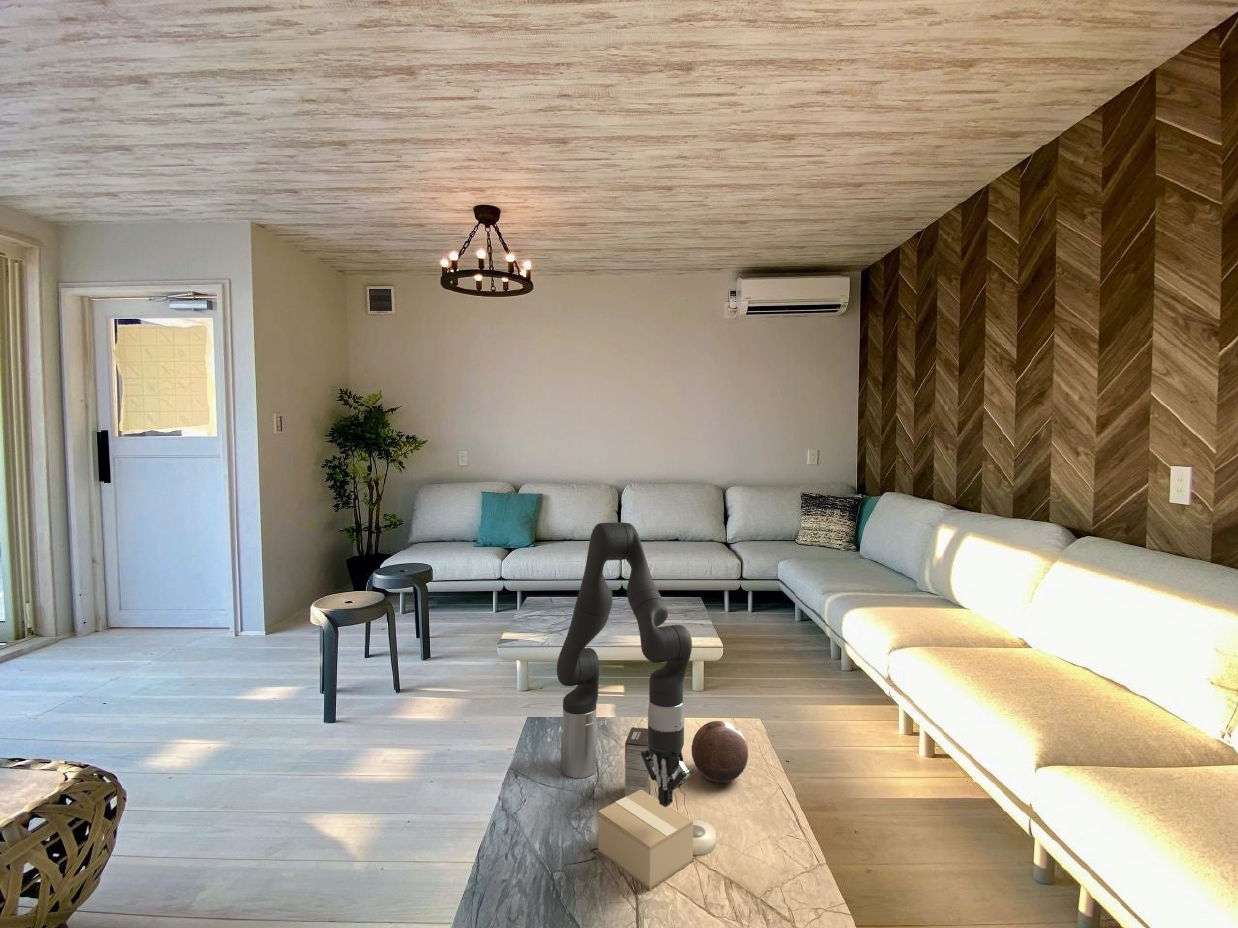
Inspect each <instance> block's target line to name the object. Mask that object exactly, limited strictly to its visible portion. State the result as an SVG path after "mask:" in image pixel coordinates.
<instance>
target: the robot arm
mask: <svg viewBox="0 0 1238 928" xmlns="http://www.w3.org/2000/svg"><path fill="white" fill-rule="evenodd" d="M587 549H588V550H587V556H586V561H585V562H586V563H585V568H584V571H583V572H584V573H583V576H582V581H581V584H580V588H579V592H578V595H577V598H576V601H575V605H574V609H573V614H572V617H571V621H570V625H569V628H568V631H567V635H566V637H565V640H564V642H563V644H562V646H561V649H560V652H559V655H558V658H557V663H556V664H557V665H556V675H557V680H558V681H559V683H560V685H562V686H564V687H574V686H576V687H575V688H574V689H573V690H571V691H569V693H567V694H566V695H565V696H564V697H563V700H562V731H561V733H560V768H561V769H562V772H563V774H564V775H566V776H567V777H570V778H574V779H575V778H576V779H583V778H588V777H590V776H592V775H593V774H595V772H596V771H597V701H598V699H599V698H598V697H599V687H600V686H599V682H600V660H599V657H598V654H597V652H596V650H595V649H594V648H592V647H587V646H588V645H589V644H590V643H591V642H592V641H593V639H595V637H597V636H598V635H599V634H600V633H601V632H602V630H603V629H604V628H605V627H606V624H607V622H608V620H609V617H610V614H611V610H612V606H613V603H614V601H613V595H612V592H611V590H610V588H609V585H608V582H606V579H605V577H604V566H605V564H606V562H607V561H625V560H626V562H627V563H628V564H629V566H630V574H629V579H628V582H627V586H626V597H627V601H628V604H629V606H630V608H631V610H632V612H633V614H634V616H635V617H634V618H635V619H636V621H637V627H638V631H639V638H640V647H641V648H640V649H641V653H642V654H643V657H645V658H646V660H647V661H649V662H650V663H654V664H659V663H663V662H666V663H665V665H664V666H662V667H660V668H659V669H657V670H654V671H653V672H652V673H651V675H650V676H649V687H648V688H649V689H648V691H649V694H648V695H649V698H648V700H649V701H648V708H647V729H648V744H649V749H647V750H645V751H643V752H641V756H642V758H643V761H644V763H645V765H646V768H647V770H648V772H649V775H650V777H651V779H652V780H653V781H654V780H655V783H656V785H657V792H658V793H657V795H658V797H657V799H658V800H659V804H660V805H662V806H664V807H667V806H669V807H670V806H671V804H672V803H673V801H674V799H673V797H674V794H673V791H674V790H676V789H678V788H680V787H681V786H683V785H684V783H685V782H686V780H687V779H688V778H689V777H691V775H692V774H693V772H692V769H691V768H690V767H686V765H685V764H684V757H683V753H682V750H683V748H684V745H685V707H684V682H685V681H684V680H685V677H686V673H687V670H688V665H689V662H690V659H691V655H692V649H693V641H692V639H693V638H692V637H691V634H690V632H689V630H688V629H687V628H686V627H685V626H684V625H682V624H672V625H664V626H661V625H662V624H664V623H665V622H666V620H667V619H668V616H669V611H668V607H667V605H666V603H665V601H664V600H663V598H662V596H661V594H660V592H659V589H658V588H657V586H656V584H655V582H654V579H653V577H652V574H651V571H650V567H649V564H648V562H647V558H646V553H645V552H644V548H643V545H642V541H641V539H640V535H639V533H638V532H637V529H636V527H635V525H633V524H632V523H630V522H623V521H622V522H621V521H620V522H599V523H597V524H596V525H594V528H593V529H592V532H591V534H590V538H589V544H588V548H587ZM652 767H654V771H653V768H652Z"/></svg>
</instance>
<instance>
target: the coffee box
mask: <svg viewBox="0 0 1238 928" xmlns="http://www.w3.org/2000/svg"><path fill="white" fill-rule="evenodd" d="M629 730H630V731H629V733H628V735H627V737H626V740H625V742H624V797H627V796H629V795H631V794H633V793H635V792H637V791H639V790H643V791H644V792H646V793H648V794H649V795H651V796H653V797H654V793H655V790H656V787H655V786H656V785H655V783H656V781H655V780H654V781H653V780H652V779H651V777H650V775H649V772H648V770H647V768H646V765H645V763H644V761H643V758H642V756H641V752H643V751H645V750H647V749H649V744H648V727H647V728H644V727H630V729H629ZM652 768H653V771H654V767H652Z"/></svg>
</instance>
